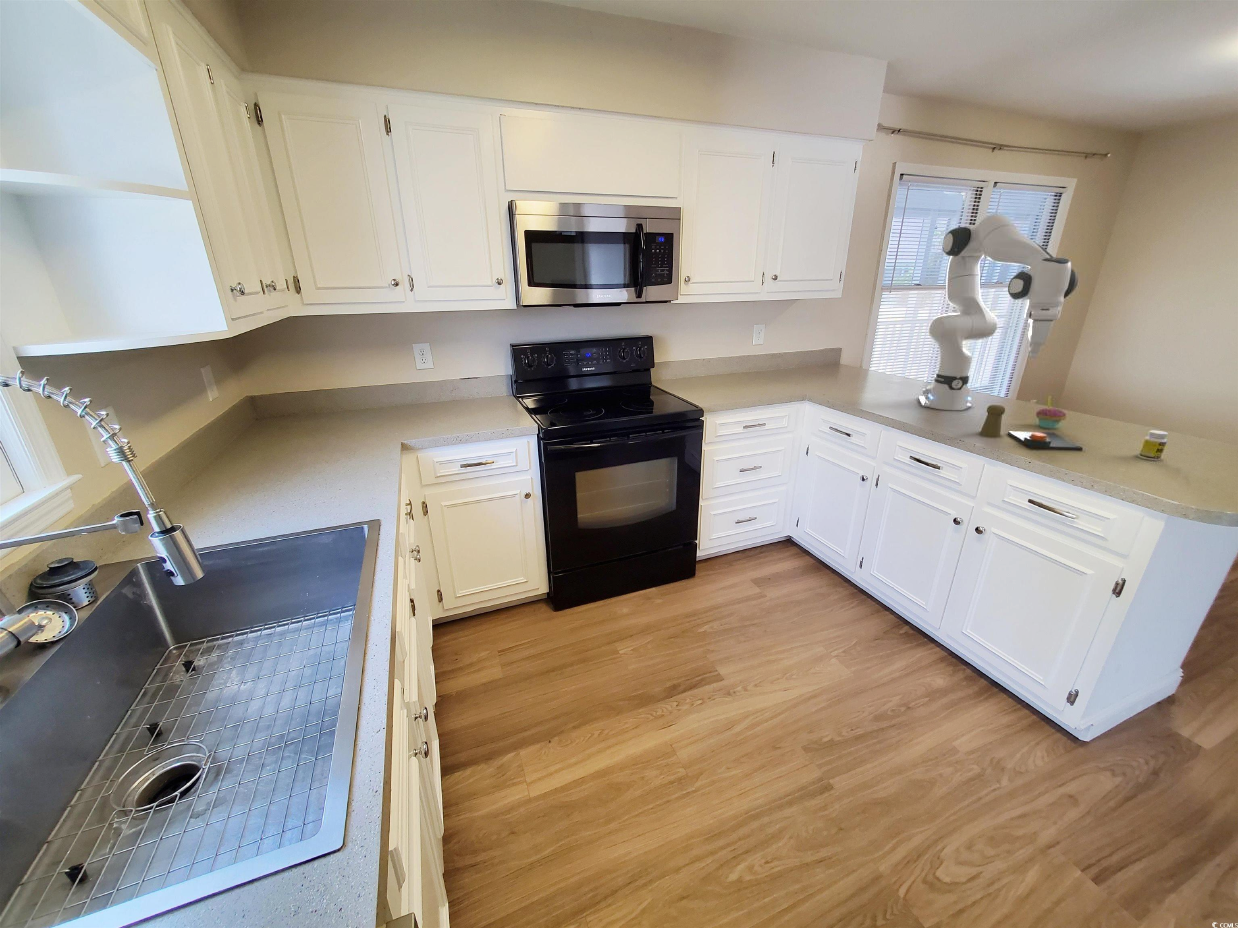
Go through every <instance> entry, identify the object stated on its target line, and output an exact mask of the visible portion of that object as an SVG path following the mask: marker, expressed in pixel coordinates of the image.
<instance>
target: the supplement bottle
mask: <svg viewBox="0 0 1238 928" xmlns="http://www.w3.org/2000/svg"><path fill="white" fill-rule="evenodd" d="M1168 436H1169V433H1168V432H1166V431H1163V430H1158V429H1157V430H1154V429H1151V430H1149V431H1148V434H1147V436H1145V437H1144V440H1143V442H1142V445H1141V448H1140V450H1139V453H1138V457H1139V458H1140V459H1144V460H1148V461H1160V460H1161V458H1162V456H1163V454H1164V451H1165V449H1166V445H1167V443H1168V439H1167V438H1168Z"/></svg>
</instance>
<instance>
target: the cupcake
mask: <svg viewBox="0 0 1238 928" xmlns="http://www.w3.org/2000/svg"><path fill="white" fill-rule="evenodd" d="M1047 397H1048V398H1047V407H1045V408H1041V409H1038V411H1036V413H1035V417H1036V418H1037V420H1038V426H1039V427H1040V428H1044V429H1056V428H1057V426H1058V425H1059V424H1060V423H1061V422H1062V421H1065V420H1066V419H1067V414H1066V412H1065V411H1064V410H1062V409H1060V408H1055V407H1051V399H1052V398H1051V397H1052V396H1051V395H1050V394H1048V396H1047Z"/></svg>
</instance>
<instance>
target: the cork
mask: <svg viewBox="0 0 1238 928" xmlns="http://www.w3.org/2000/svg"><path fill="white" fill-rule="evenodd" d="M1005 412H1006V407H1005V406H1003V405H1001V404H989V405H988V406H987V408H986V413H987V414H986V417H985V420H984V423H983V424H982V427H981V430H980V433H979V435H980V436H983V437H987V438H999V437H1001V432H1002V420H1003V415H1004V414H1005Z"/></svg>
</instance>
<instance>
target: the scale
mask: <svg viewBox="0 0 1238 928" xmlns="http://www.w3.org/2000/svg"><path fill="white" fill-rule="evenodd" d="M1033 432H1034V431H1008V432H1007V435H1008V436H1009V437H1011V438H1013V439H1014V440H1017V441H1018V442H1020V443H1021V444H1023V445H1024V446H1026V447H1027V448H1029V449H1031V450H1044V451H1045V450H1046V451H1047V450H1048V451H1049V450H1050V451H1078V452H1079V451H1082V450H1083V446H1081V445H1079V444H1077V443H1075V442H1073V441H1072V440H1069V439H1067V438H1065V437H1063V436H1062V435H1060V434H1057V433H1055V432H1049V431H1048V432H1045V431H1037V432H1038V433H1044V434H1046V435H1047V437H1046V440H1034V439H1031V438H1030V437H1031V433H1033Z"/></svg>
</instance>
